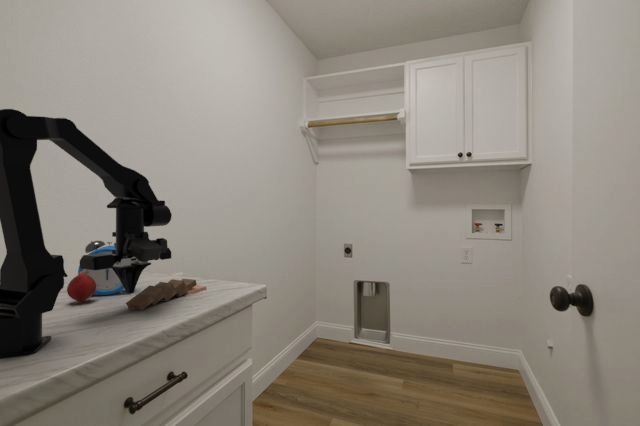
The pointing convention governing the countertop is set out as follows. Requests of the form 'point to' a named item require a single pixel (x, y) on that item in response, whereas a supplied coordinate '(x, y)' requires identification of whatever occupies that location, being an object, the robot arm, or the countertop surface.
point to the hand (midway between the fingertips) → (130, 293)
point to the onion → (81, 287)
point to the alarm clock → (103, 271)
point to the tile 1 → (145, 298)
